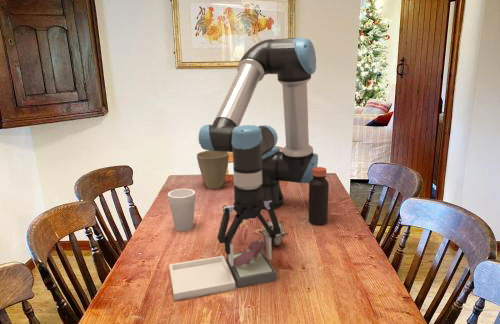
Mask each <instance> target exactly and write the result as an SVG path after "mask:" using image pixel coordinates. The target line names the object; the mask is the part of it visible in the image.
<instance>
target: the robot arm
mask: <svg viewBox="0 0 500 324" xmlns="http://www.w3.org/2000/svg"><path fill="white" fill-rule="evenodd" d="M236 68H237V73H236V75H235V77H234V80H233V82H232V83H231V85H230V88H229V89H228V92H227V94H226V96H225V98H224V100H223V102H222V104H221V107H220V108H219V111H218V112H217V115H216V116H215V118H214V120H213V122H212V124H204V125H203V126H201V128H200V129H199V131H198V144H199V146H200V147H201V148H202V149H203V150H205V151H215V152H216V151H222V152H228V153H232V162H233V163H232V167H233V184H234V187H233V192H234V193H233V197H234V198H233V200H234V201H233V204H232V205H229V206H227V205H226V204H225V205H223V206H222V218H221V222H220V225H219V230H218V233H217V237H216V238H217V241H218V242H219V244H224V252H225V255H226V254H227V255H228V254H229V263H230V265H231V266H234V256H233V253H234V244H233V242H232V240H233V238H234V237H235V235H236V233H237V231H238V229H239V228H240V225H241V224H242V223H243V222H244V221H247V220H250V219H256V218H257V219H258V220H259V222H260V223H261V225H263V228H264V227H265V229H266V230H267V232H268V233H269V234H266V242H265V243H266V245H265V256H266V257H267V259H268V260H269V261H270V260H272V248H274V247H275V242H274V238H276V235H277V234H280V233H281V230H280V227H279V224H278V222H279V221H278V217H277V215H276V212H275V209H278V208H281V207H282V206H284V204H285V198H284V194H283V191H282V189H281V186H280V181H281V182H289V183H300V184H309V182H310V181H311V180H312V179H313V176H312V168H314V167H318V163H319V155H318V154H317V153H315V152H314V148H313V147H312V146H311V145H310V141H309V138H310V137H309V112H308V111H309V106H308V104H309V103H308V82H309V81H310V80H311V79H312V75H314V74H315V72H316V70H317V56H316V50H315V46H314V44H313V42H312V41H311V39H309V38H305V37H302V38H301V37H290V38H289V37H288V38H277V39H276V38H275V39H272V38H270V39H264V40H261V41H259V42H257V43H256V44H254V45H253V46H251V47H250V48H249V49H248V50H247V51H246V52H245V53H244V54H243V56H242V57H241V59H240V60H239V62H238V64H237V66H236ZM266 75H277V82H279V83H280V84H281V85H282V100H283V101H282V102H283V116H284V131H285V132H284V134H285V146H284V147H283V148H282V149H280V147H279V146H276V145H277V142H278V133H277V131H276V130H275V128H273V127H272V126H270V125H267V124H265V125H264V124H263V125H259V126H257V125H254V124H253V125H252V124H250V125H249V124H245V125H241V123H242V120H243V117H244V116H245V113H246V112H247V109H248V106H249V104H250V102H251V99H252V97H253V95H254V93H255V90H256V88H257V86H258V84H259V82H261V81H262V80H263V78H264V77H265V76H266ZM281 150H282V151H281ZM262 210H264V211H265V210H267V211H268V212H267V213H268V216H269V218H270V221H271V222H272V224H273V227H274V229H271V228H270V226H269V225H268V223H267V220H266V219H265V217H264V216H263V215H262V214H261V212H262ZM233 212H236V213H235V215H234V218H233V220H232V222H231V224H230V226H228V225H229V222H230V218H231V217H230V216H231V215H232V213H233ZM228 227H229V228H228Z"/></svg>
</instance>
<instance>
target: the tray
mask: <svg viewBox="0 0 500 324" xmlns="http://www.w3.org/2000/svg"><path fill="white" fill-rule="evenodd" d="M168 267H169V275H170V281H171V287H172V288H171V289H172V294H173V302H176V301H177V302H178V301H182V300H188V299H192V298H197V297H202V296H208V295H213V294H218V293H224V292H229V291H235V290H236V288H237V286H236V282H235V280H234V278H233V275H232V273H231V271H230V269H229V266H228V264H227V261H226V259H225V257H224V255H219V256H213V257H206V258H201V259H195V260H194V259H193V260H187V261H182V262H176V263H170V264H168Z"/></svg>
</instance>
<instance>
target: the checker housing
mask: <svg viewBox="0 0 500 324" xmlns="http://www.w3.org/2000/svg"><path fill="white" fill-rule="evenodd" d="M243 252H244V251H239V252H233V255H234V254H240V253H243ZM260 253H261V254H262V256H263V257H264V259H265V260H266V262H267V263H268V265H269V266H270V268H271V269H272V271H273V272H269V273H264V274H258V275H253V276H247V277H242V278H239V276H238V274H237V272H236V270H235V268H234V266H231V265H230V263H229V254H228V255H227V254H226V253H225V257H226V259H225V261H226V263H227V265H228V267H229V270H230V272H231V274H232V276H233V279H234V281H235V285H236V287H237V288H238V289H239V288H245V287H248V286H249V287H250V285H251V286H255V284H256V285H260V284H261V285H262V284H265V283H270V282H276V281H277V271H276V270H275V268H274V266H273V265H272V263H271V261H270V260H269V259H268V257H267V256H266V253H264V251H263V250H262V251H261V252H260Z"/></svg>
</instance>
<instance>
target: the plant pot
mask: <svg viewBox="0 0 500 324" xmlns="http://www.w3.org/2000/svg"><path fill="white" fill-rule="evenodd" d="M229 157H230V152H222V151H216V152H215V151H210V150H205V151H201V152H198V153H197V154H196V159H197V165H198V168H199V171H200V174H201V176H202V177H201V178H202V179H203V181H204V184H205V186H206V188H207V189H209V190H217V189H221V188H222V187H223V186H224V182H225V180H226V175H227V172H228V166H229V159H230V158H229Z"/></svg>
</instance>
